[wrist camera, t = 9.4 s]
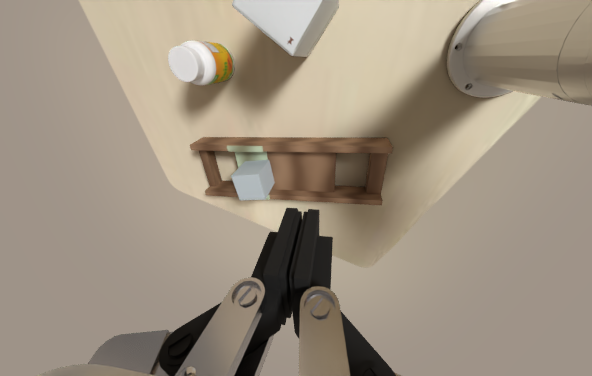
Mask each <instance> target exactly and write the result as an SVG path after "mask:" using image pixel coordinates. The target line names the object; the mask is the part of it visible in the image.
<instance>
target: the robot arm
mask: <svg viewBox="0 0 592 376" xmlns="http://www.w3.org/2000/svg"><path fill="white" fill-rule="evenodd" d="M456 45H457V49H455V46H456ZM447 71H448V74H449V78H450V80H451V81H452V83H453V85H454V86H455V87H456V88H457V89H458V90H460V91H461V92H463V93H465V94H468V95H471V96H475V97H481V98H487V97H496V96H501V95H504V94H507V93H510V92H513V91H516V92H522V93H527V94H532V95H537V96H542V97H548V98H553V99H558V100H563V101H568V102H574V103H579V104H584V105H591V106H592V0H480V1H479V2H478V3H477V4H476V5H475V6H474V7H473V8H472V9H471V10H470V11H469V12H468V14H467V15H466V16H465V17H464V18H463V20H462V21H461V23H460V24H459V26H458V27H457V29H456V31H455V33H454V35H453V37H452V39H451V43H450V46H449V49H448V54H447ZM466 85H467V87H466V88H465V86H466ZM332 239H333V237H325V236H319V210H312V209H308V212H304V214H303V219H302V213H301V212H300V211H298V209H297V208H287V209H286V211H285V214H284V217H283V219H282V222H281V225H280V228H279V231H278V232H270V233H269V235H268V237H267V240H266V242H265V244H264V247H263V249H262V252H261V254H260V257H259V259H258V262H257V264H256V266H255V269H254V271H253V274H252V276H251V277H248V278H244V279H241V280H240V281H238V282H237V283H235V284H234V285H233V286H232V288H231V289H230V290H229V292H228V294H227V295H226V297H225V298H224V300H223V301H222V303H220V304H218V305H216V306H215V307H213V308H211V309H210V310H208V311H206V312H205V313H203V314H201V315H200V316H198V317H196V318H195V319H193V320H191V321H190V322H188V323H186V324H185V325H183V326H181V327H180V328H178V329H177V330H175V331H174V332H169V331H168V330H162V331H152V332H143V333H131V334H121V335H118V336H114V337H113V338H111V339H109V340H108V341H106V342H105V343H104V344H103V345H102V346H100V347H99V349H98V350H97V351H96V352H95V354H94V355H93V357H92V358H91V360H90V361H89V363H88V364H80V365H72V366H66V367H61V368H57V369H54V370H51V371H48V372H45V373H43V374H40V375H37V376H259V375H260V372H261V369H262V367H263V364H264V361H265V358H266V356H267V353H268V351H269V348H270V345H271V343H272V340H273V336H274V334H275V333H276V332H278V331H279V330H280V328H281V324H282V325H285V323H286V318H290V317H291V314H292V312H293V320H294V329H295V333H296V335H297V336H298V338H299V376H401V375H399V374H397V373H394V372H393V371H392V369H391V368H390V367H389V366H388V364H387V363H386V362H385V361H384V360H383V359H382V358H381V356H380V355H379V354H378V353H377V352H376V351H375V350H374V348H373V347H372V346H371V345H370V344H369V343H368V342H367V340H366V339H365V338H364V337H363V336H362V335H361V334H360V333H359V331H358V330H357V329H356V328H355V327H354V326H353V325H352V323H351V322H350V321H349V320H348V319H347V318H346V317H345V315H344V314H343V313H342V312H341V310H340V304H339V301H338V298H337V297H336V295H335V293H333V292H332V291H331V290H330V284H331V262H332Z"/></svg>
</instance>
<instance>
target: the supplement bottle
mask: <svg viewBox="0 0 592 376" xmlns="http://www.w3.org/2000/svg"><path fill="white" fill-rule="evenodd" d="M168 62H169V66H170V69H171V71H172V72H173V74H174V75H175V76H176V77H177V78H178V79H180V80H182V81H184V82H191V83H193V84H195V85H201V86H202V85H208V84H213V83H218V82H223V81H227V80H228V79H230V78H231V76H232V75H233V73H234V59H233V57H232V55H231V53H230V51H229V50H228V49H227V48H226V47H224V46H223V45H221V44H218V43H211V42H202V41H193V40H190V41H186V42H184V43H182V44H181V46H175V47H173V48H172V49H171V50H170V52H169V55H168Z"/></svg>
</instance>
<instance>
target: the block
mask: <svg viewBox="0 0 592 376" xmlns="http://www.w3.org/2000/svg"><path fill="white" fill-rule="evenodd" d="M231 177H232V180H233V183H234V186H235V188H236V191H237V194H238V197H239V200H265V199H266V198H267V196H268V194H269V192H270V190H271V188H272V187H273V185H274V183H275V182H274V177H273V173H272V169H271V165H270V161H269V160H256V161H245V162H244V163H243V164H242V165H241V166H240V167H239V168H238V169H237V170H236V171H235V172H234V173H233V175H232V176H231Z"/></svg>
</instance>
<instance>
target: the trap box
mask: <svg viewBox="0 0 592 376" xmlns="http://www.w3.org/2000/svg"><path fill="white" fill-rule="evenodd" d="M190 148H191V150H199V153H200V156H201V159H202V162H203V166H204V169H205V172H206V175H207V178H208V182H209V185H210V187H209V188H208V189H207V190H206V191H205V193H206V195H212V196H230V197H238V194H237V191H236V188H235V186H234V183H233V181H222V180H221V176H220V172H219V169H218V165H217V162H216V158H215V154H214V151H228V152H235V156H236V160H237V165H238V168H239V167H240V166H241V165H242V164H243V163H244V162H245V161H256V160H269V161H270V165H271V169H272V173H273V177H274V182H275V183H274V185H273V187H272V188H271V190H270V192H269V194H268V196H267V198H266V199H267V200H270V199H282V200H299V201H317V202H334V203H352V204H369V205H382V198H381V190H382V184H383V179H384V174H385V168H386V163H387V157H388V153H392V149H393V147H392V145H391V143H390V142H389V140H388V138H261V137H203V138H201V139H199V140H198V141H196V142H194V143H193V144H191V145H190ZM336 153H370V156H369V164H368V171H367V178H366V186H365V187H353V186H335V167H336Z"/></svg>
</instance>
